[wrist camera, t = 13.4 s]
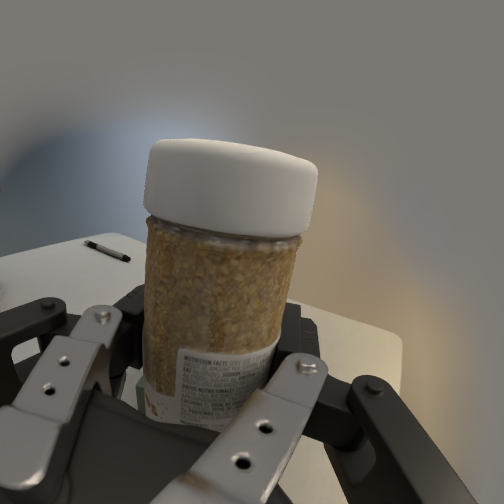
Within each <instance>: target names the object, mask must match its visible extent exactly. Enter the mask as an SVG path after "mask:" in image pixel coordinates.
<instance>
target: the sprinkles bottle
mask: <svg viewBox="0 0 504 504" xmlns="http://www.w3.org/2000/svg"><path fill="white" fill-rule="evenodd" d="M317 178H318V171H317V168H316V166H315V165H314V164H313V163H311V162H310V161H307V160H305V159H301V158H298V157H294V156H292V155H289V154H286V153H283V152H279V151H275V150H270V149H266V148H261V147H256V146H250V145H244V144H238V143H232V142H224V141H215V140H205V139H163V140H159V141H157V142H155V143H154V144H153V146H152V147H151V150H150V154H149V160H148V167H147V173H146V182H145V191H144V202H143V203H144V204H143V205H144V207H145V209H146V210H147V211H148V212H149V213H151V214H152V215H151V216H150V217H148V218H147V219H146V223H147V226H148V238H147V248H146V254H147V257H146V264H145V272H146V273H145V289H144V297H145V299H144V325H143V332H142V356H143V377H144V395H145V409H146V416H147V417H149V418H150V419H152V420H154V421H158V422H164V423H172V424H181V425H192V426H198V427H202V428H206V429H210V430H214V431H218V432H222V431H223V430H224V429H225V427H226V426H227V425H228V424H229V422H230V421H231V420H232V419H233V417H234V416H235V415H236V414H237V412H238V411H239V410H240V409H241V407H242V406H243V405H244V404H245V402H246V401H247V400H248V398H249V397H250V396H251V395H252V393H253V392H254V391H255V390H256V389H257V388H260V389H262V390H263V389H264V388H265V387H266V385H267V384H268V380H269V376H270V372H271V369H272V365H273V361H274V357H275V353H276V349H277V345H278V341H279V338H280V334H281V323H282V317H283V313H284V309H285V303H286V300H287V293H288V289H289V285H290V281H291V277H292V274H293V268H294V262H295V257H296V252H297V249H298V247H299V246H300V245H301V243H302V242H303V239H302V237H301V236H300V234H301V233H303V232H305V231H306V230H307V229H308V227H309V223H310V218H311V214H312V209H313V204H314V197H315V191H316V185H317Z"/></svg>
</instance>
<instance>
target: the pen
mask: <svg viewBox="0 0 504 504" xmlns="http://www.w3.org/2000/svg"><path fill="white" fill-rule="evenodd" d="M84 242H85V243H86V245H87V246H90V247H93V248H95V249H97V250H100V251H102V252H105V253H107V254H110V255H112V256H114V257H117V258H119V259H122V260H124V261H130V260H131V258H130V257H128V256H127V255H125V254H122V253H119V252H116V251H114V250H111V249H108V248H106V247H103V246H101V245H98V244H96V243H93V242H91V241H89V240H87V241H84Z"/></svg>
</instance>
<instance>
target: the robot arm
mask: <svg viewBox="0 0 504 504" xmlns="http://www.w3.org/2000/svg"><path fill="white" fill-rule="evenodd" d="M144 289H145V284H143V285H140V286H137V287H136V288H135V289H133V290H132V291H131V292H129V293H128V294H127V295H126V297H125V296H124V297H123V298H122V299H120V300H119V301H118V302H117V303H115V304H114V305H113V306H109V305H96V306H92V307H90V308H88V309H87V310H86V311H85V312H84V313H83V315H82V316H81V315H74V314H68V313H67V311H66V304H65V302H64V301H63V300H61V299H59V298H54V297H47V298H42V299H38V300H36V301H33V302H30V303H27V304H24V305H21V306H18V307H16V308H13V309H10V310H7V311H4V312H2V313H0V504H293V502H292V501H291V500H290V499H289V497H288V496H287V495H286V494H285V492H284V491H283V490H282V488H281V487H280V486H279V484H278V481H279V479H280V478H281V476H282V474H283V472H284V470H285V468H286V466H287V464H288V462H289V460H290V458H291V456H292V454H293V452H294V450H295V448H296V446H297V444H298V442H299V440H300V438H301V435H305V436H307V437H310V438H313V439H315V440H318V441H321V442H323V444H324V448H325V451H326V453H327V455H328V458H329V460H330V462H331V464H332V467H333V469H334V471H335V474H336V476H337V478H338V481H339V483H340V485H341V487H342V490H343V492H344V494H345V497H346V499H347V501H348V503H349V504H478V503H477V502H476V500H475V499H474V497H473V496H472V494H471V493H470V492H469V490H468V489H467V487H466V486H465V485H464V483H463V482H462V480H461V479H460V478H459V476H458V475H457V473H456V472H455V471H454V469H453V468H452V467H451V465H450V464H449V462H448V461H447V460H446V458H445V457H444V456H443V454H442V453H441V451H440V450H439V449H438V447H437V446H436V445H435V443H434V442H433V441H432V440H431V438H430V437H429V435H428V434H427V433H426V431H425V430H424V429H423V427H422V426H421V425H420V424H419V422H418V421H417V419H416V418H415V417H414V415H413V414H412V413H411V411H410V410H409V409H408V407H407V406H406V405H405V403H404V402H403V401H402V400H401V398H400V397H399V396H398V394H397V393H396V392H395V390H394V389H393V388H392V387H391V385H390V384H389V383H387V382H386V381H385V380H383V379H381V378H379V377H376V376H371V375H362V376H358V377H356V378H355V379H354V380H353V382H352V384H349V383H346V382H343V381H340V380H338V379H336V378H334V377H332V376H330V375H329V374H328V367H327V365H326V363H325V362H324V361H323V360H321V359H320V350H319V341H318V335H317V334H318V332H317V326H316V325H315V323H314V322H313V321H312V320H311V319H308V318H303V317H301V306H300V305H297V304H292V303H287V302H286V303H285V309H284V313H283V317H282V323H281V334H280V338H279V341H278V345H277V349H276V353H275V357H274V361H273V365H272V369H271V372H270V376H269V380H268V384H267V385H266V387H265V388H264V389H263V390H262V389H260V388H257V389H256V390H255V391H254V392H253V393H252V395H251V396H250V397H249V398H248V400H247V401H246V402H245V404H244V405H243V406H242V407H241V409H240V410H239V411H238V412H237V414H236V415H235V416H234V417H233V419H232V420H231V421H230V422H229V424H228V425H227V426H226V427H225V429H224V430H223V431H222V432H218V431H214V430H210V429H206V428H202V427H198V426H192V425H181V424H172V423H164V422H158V421H154V420H152V419H150V418H149V417H147V416H146V415H144V414H142V413H141V412H139V411H138V410H136V409H135V408H133V407H131V406H130V405H128V404H127V403H125V402H124V401H121V396H122V392H123V388H124V384H125V381H126V369H127V368H128V366H130V367H133V368H136V369H139V370H140V369H141V367H142V366H143V356H142V332H143V325H144V299H145V297H144ZM35 337H37V340H38V344H39V348H40V353H38V354H36V355H34V356H32V357H29V358H27V359H25V360H23V361H21V362H19V363H16V364H14V363H13V360H12V357H11V353H12V350H13V348H14V347H15V346H16V345H18V344H21V343H23V342H25V341H28V340H30V339H32V338H35ZM370 443H371V444H370Z"/></svg>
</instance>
